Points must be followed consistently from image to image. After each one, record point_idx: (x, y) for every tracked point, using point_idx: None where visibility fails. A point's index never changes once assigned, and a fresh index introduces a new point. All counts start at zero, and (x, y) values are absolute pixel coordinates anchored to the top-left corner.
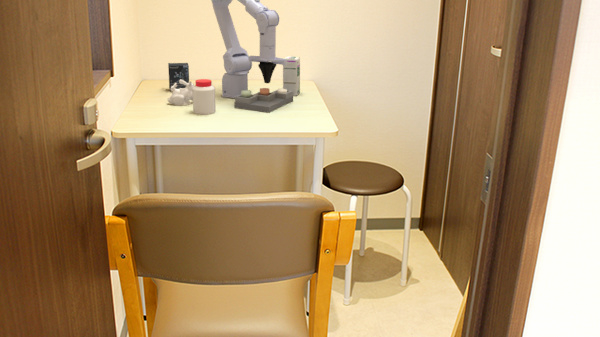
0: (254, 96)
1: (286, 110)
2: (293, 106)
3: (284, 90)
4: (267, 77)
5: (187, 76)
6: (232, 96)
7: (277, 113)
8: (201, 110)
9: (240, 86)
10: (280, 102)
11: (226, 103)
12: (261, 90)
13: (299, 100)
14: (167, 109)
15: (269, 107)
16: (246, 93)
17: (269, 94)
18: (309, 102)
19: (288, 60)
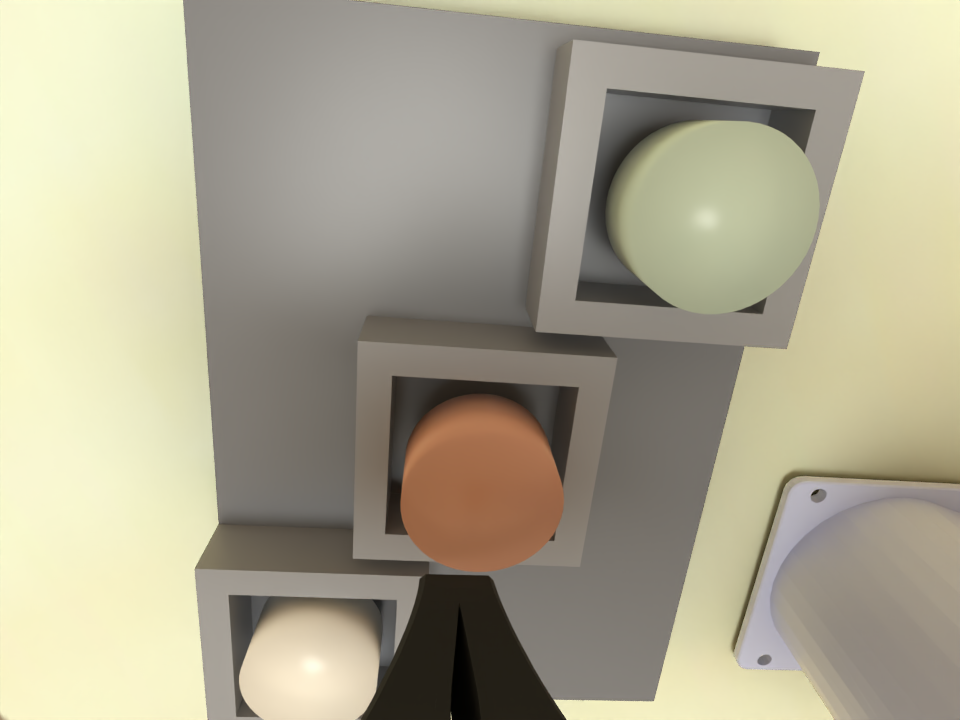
0: (556, 242)
1: (72, 228)
2: (112, 445)
3: (252, 656)
4: (411, 651)
5: None
6: (923, 501)
7: (83, 7)
8: None
9: (912, 609)
10: (213, 376)
11: (930, 242)
12: (505, 430)
13: (199, 683)
14: None
15: (188, 2)
16: (686, 130)
17: None
18: (60, 658)
19: None
